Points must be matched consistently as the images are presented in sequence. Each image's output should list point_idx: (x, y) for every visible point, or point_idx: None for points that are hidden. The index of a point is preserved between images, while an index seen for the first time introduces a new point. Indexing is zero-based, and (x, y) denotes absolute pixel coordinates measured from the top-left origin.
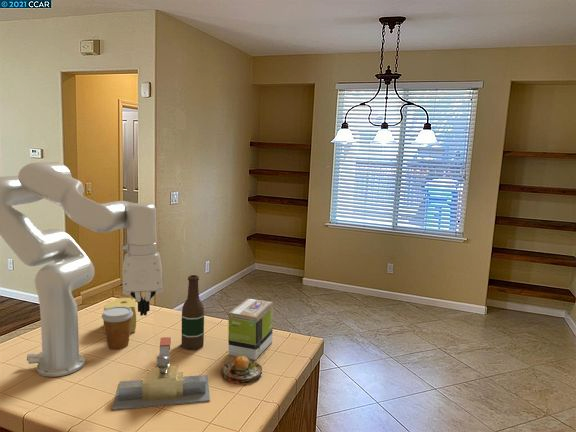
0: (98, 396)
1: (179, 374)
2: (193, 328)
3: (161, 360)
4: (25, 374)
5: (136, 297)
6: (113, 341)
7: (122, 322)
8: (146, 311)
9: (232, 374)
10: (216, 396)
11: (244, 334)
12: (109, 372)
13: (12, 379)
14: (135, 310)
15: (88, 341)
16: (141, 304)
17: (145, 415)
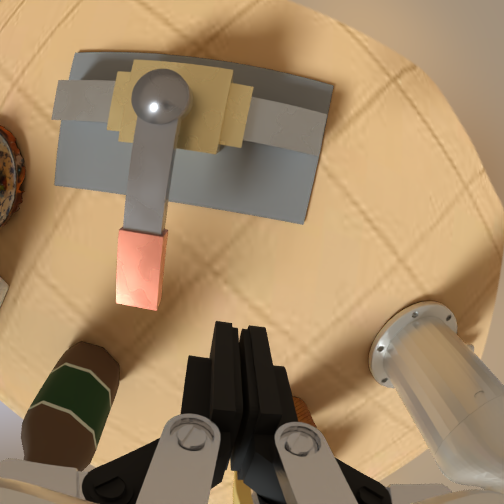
0: (362, 171)
1: (120, 113)
2: (66, 383)
3: (172, 70)
4: (467, 325)
5: (327, 463)
6: (300, 412)
7: None
8: (212, 352)
9: (3, 171)
10: (56, 74)
11: None
12: (322, 291)
13: (485, 311)
14: (237, 498)
15: (340, 433)
16: (263, 393)
17: (248, 31)
